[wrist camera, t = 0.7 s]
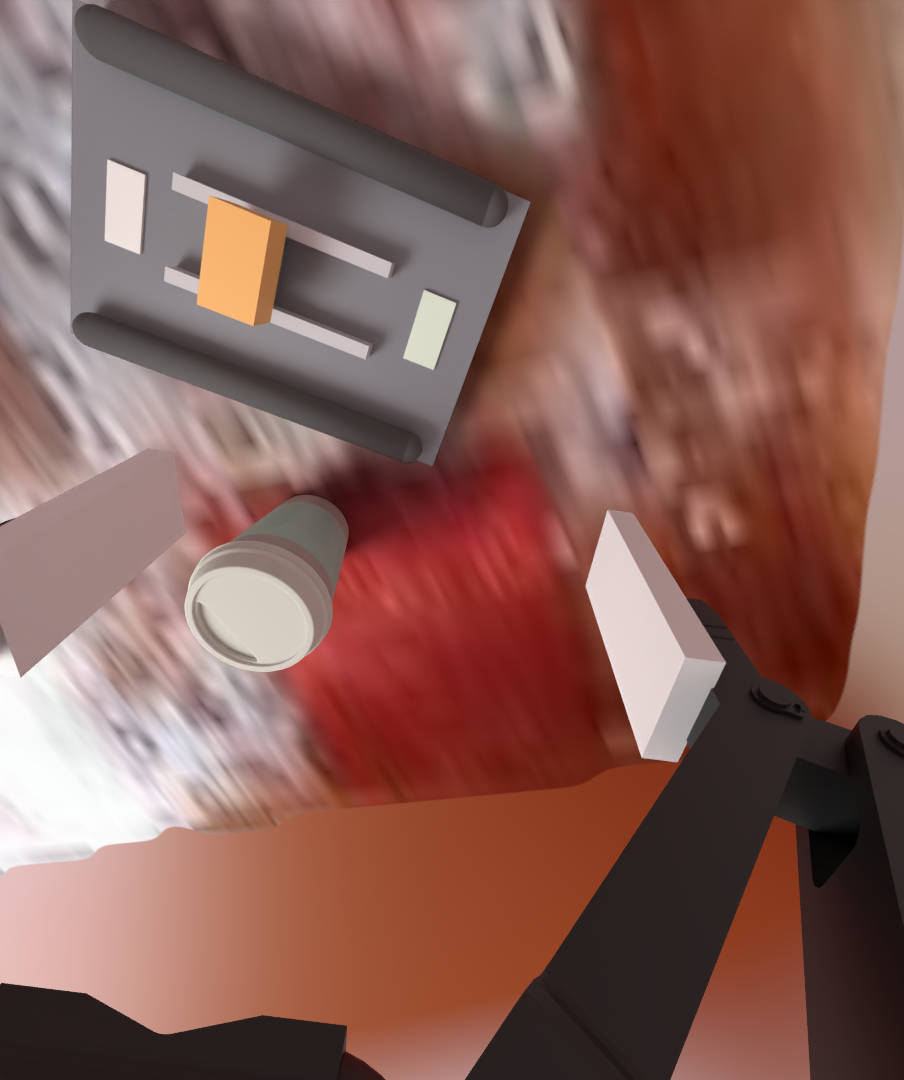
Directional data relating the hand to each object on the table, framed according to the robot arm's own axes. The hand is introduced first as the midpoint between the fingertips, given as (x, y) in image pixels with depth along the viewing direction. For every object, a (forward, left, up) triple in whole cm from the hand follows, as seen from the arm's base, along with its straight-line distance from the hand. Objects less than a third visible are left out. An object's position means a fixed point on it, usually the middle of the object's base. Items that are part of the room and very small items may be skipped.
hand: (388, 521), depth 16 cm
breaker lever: (-12, +3, -19) cm, 22 cm away
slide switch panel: (-11, +3, -21) cm, 24 cm away
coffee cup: (-6, -14, -21) cm, 26 cm away
